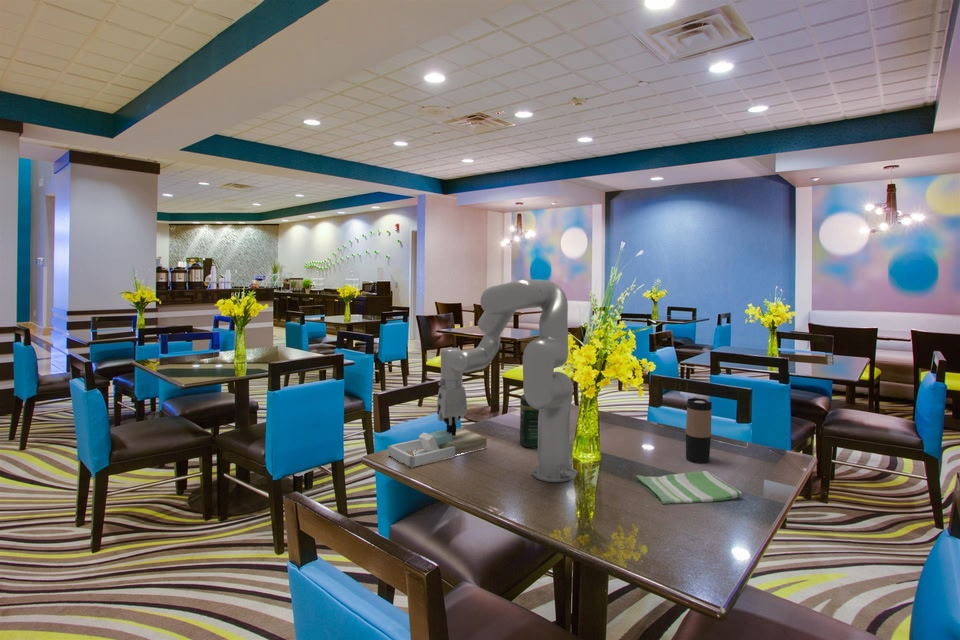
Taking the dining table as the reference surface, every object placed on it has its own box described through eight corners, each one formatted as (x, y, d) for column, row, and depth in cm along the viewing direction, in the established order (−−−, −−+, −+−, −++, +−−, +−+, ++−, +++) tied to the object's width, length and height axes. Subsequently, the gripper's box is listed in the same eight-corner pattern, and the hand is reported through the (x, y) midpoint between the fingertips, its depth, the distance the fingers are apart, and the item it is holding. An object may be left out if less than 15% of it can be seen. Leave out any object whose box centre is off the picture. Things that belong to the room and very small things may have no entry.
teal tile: (452, 440, 179) (451, 433, 179) (437, 445, 176) (437, 438, 175) (442, 436, 184) (442, 429, 184) (428, 440, 180) (427, 433, 180)
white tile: (433, 436, 175) (427, 440, 173) (439, 450, 177) (434, 455, 175) (424, 432, 179) (418, 436, 178) (430, 446, 181) (424, 450, 180)
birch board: (486, 448, 184) (486, 437, 184) (454, 456, 175) (454, 445, 175) (462, 439, 195) (462, 428, 195) (431, 446, 186) (431, 435, 186)
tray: (455, 457, 175) (455, 447, 175) (411, 468, 164) (411, 457, 164) (430, 446, 186) (430, 436, 186) (388, 455, 176) (388, 445, 176)
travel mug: (683, 461, 172) (685, 401, 170) (686, 454, 178) (688, 397, 177) (709, 465, 168) (711, 404, 167) (710, 458, 175) (713, 399, 173)
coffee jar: (544, 448, 185) (545, 396, 183) (522, 448, 184) (523, 397, 183) (539, 440, 194) (539, 390, 193) (518, 440, 194) (518, 391, 192)
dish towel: (634, 481, 156) (634, 472, 156) (708, 478, 159) (708, 469, 158) (662, 506, 138) (662, 496, 138) (744, 502, 141) (744, 492, 141)
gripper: (439, 387, 174) (439, 441, 175) (475, 382, 183) (474, 434, 185) (427, 384, 180) (427, 436, 181) (462, 379, 189) (462, 429, 190)
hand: (451, 435), depth 183 cm, fingers closed
